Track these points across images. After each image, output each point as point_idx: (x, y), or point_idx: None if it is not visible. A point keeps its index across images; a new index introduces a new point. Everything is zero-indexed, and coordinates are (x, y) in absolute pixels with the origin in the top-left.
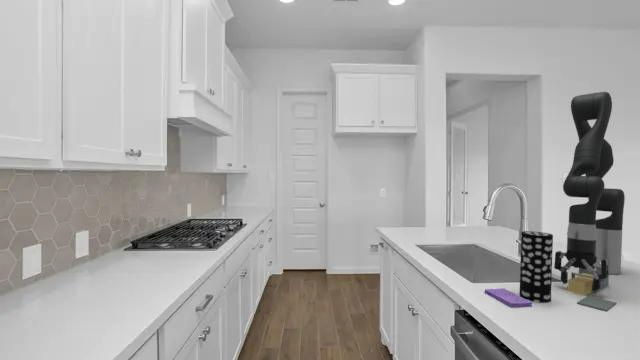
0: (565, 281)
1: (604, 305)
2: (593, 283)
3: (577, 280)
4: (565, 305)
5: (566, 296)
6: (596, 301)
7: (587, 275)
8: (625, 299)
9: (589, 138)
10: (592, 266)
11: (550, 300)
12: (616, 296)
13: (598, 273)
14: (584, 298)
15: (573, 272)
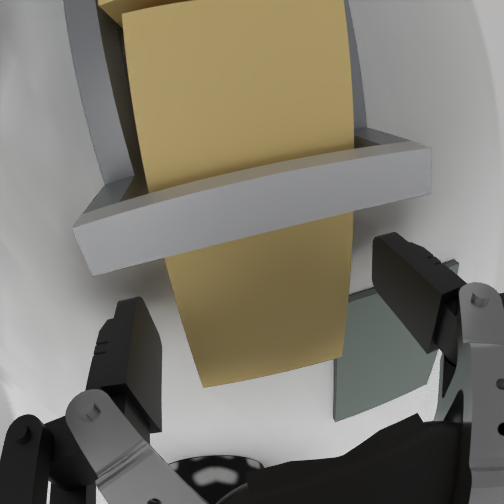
0: (157, 350)
1: (421, 356)
2: (405, 325)
3: (256, 334)
4: (312, 450)
5: (259, 396)
6: (391, 346)
7: (321, 201)
8: (472, 114)
9: None
10: (500, 411)
11: (262, 467)
12: (433, 89)
13: (498, 334)
14: (340, 364)
15: (99, 245)
